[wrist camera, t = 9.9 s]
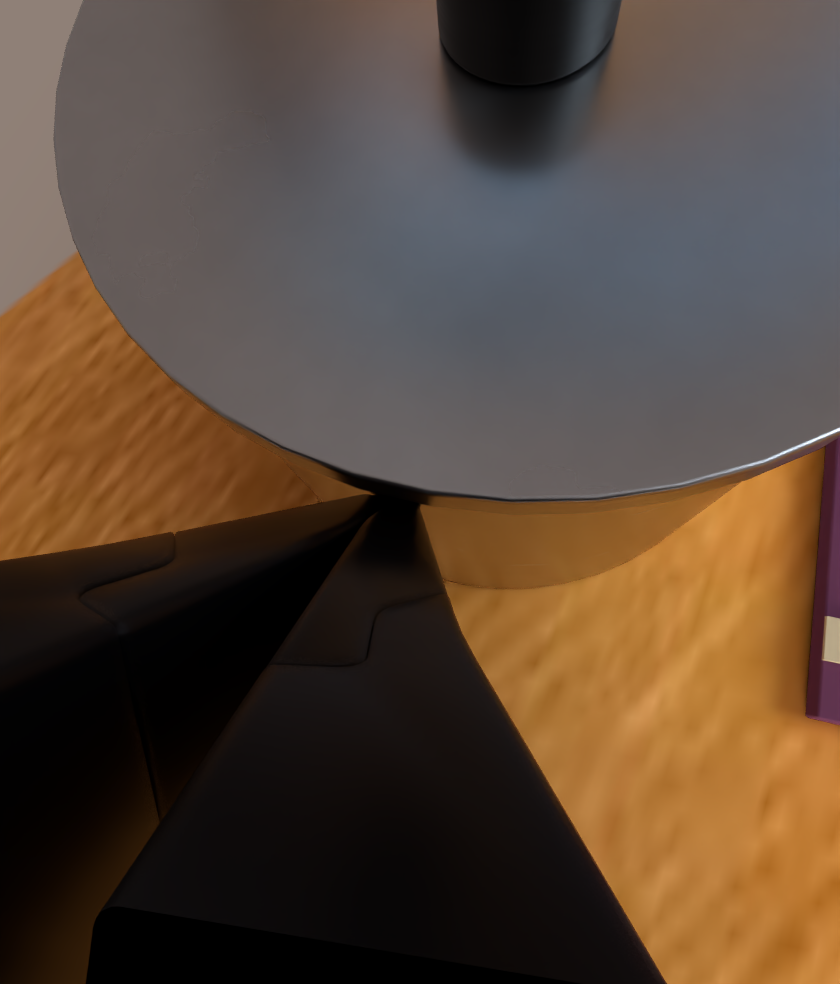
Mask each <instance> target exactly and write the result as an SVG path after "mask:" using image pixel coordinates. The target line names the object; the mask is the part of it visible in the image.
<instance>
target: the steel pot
mask: <svg viewBox="0 0 840 984" xmlns="http://www.w3.org/2000/svg"><path fill="white" fill-rule="evenodd" d="M54 125H55V126H54V148H55V158H56V167H57V177H58V187H59V191H60V195H61V198H62V202H63V205H64V209H65V213H66V216H67V220H68V223H69V227H70V231H71V234H72V238H73V241H74V243H75V245H76V247H77V249H78V251H79V254H80V256H81V258H82V260H83V262H84V264H85V266H86V268H87V271H88V273H89V275H90V277H91V279H92V281H93V283H94V286H95V288H96V289H97V291H98V292H99V294H100V295H101V297H102V298H103V299H104V301H105V302H106V304H107V305H108V307H109V308H110V310H111V311H112V312H113V314H114V315H115V317H116V318H117V320H118V321H119V323H120V324H121V325H122V327H123V328H124V330H125V331H126V333H127V334H128V335H129V336H130V337H131V339H132V340H133V341H134V342H135V343H136V344H137V345H138V346H139V347H140V348H141V349H142V350H143V351H144V352H145V353H146V354H147V355H148V356H149V357H150V358H151V359H152V360H153V361H154V362H155V363H156V364H157V366H158V367H159V368H160V369H161V370H162V371H163V372H164V373H165V374H166V375H167V376H168V377H169V378H170V379H171V380H172V381H173V382H174V383H175V384H177V385H178V386H179V387H180V388H181V389H182V390H183V391H184V392H185V393H186V394H187V395H189V396H190V397H191V398H193V399H194V400H195V401H197V402H198V403H199V404H200V405H202V406H203V407H204V408H206V409H207V410H208V411H210V412H211V413H212V414H214V415H215V416H216V417H218V418H219V419H220V420H221V421H223V422H224V423H225V424H227V425H228V426H229V427H231V428H232V429H233V430H235V431H236V432H237V433H239V434H241V435H243V436H245V437H247V438H248V439H250V440H252V441H254V442H256V443H257V444H259V445H261V446H263V447H265V448H266V449H268V450H270V451H272V452H274V453H275V454H277V455H278V456H279V457H280V458H281V459H282V460H283V461H284V462H285V463H286V464H287V465H288V466H289V467H290V468H291V469H292V470H293V471H294V472H295V473H296V475H297V476H298V477H299V478H300V479H301V480H302V481H303V482H304V483H305V484H306V485H307V486H308V487H309V488H310V489H311V490H312V491H313V492H314V493H315V494H316V495H317V496H318V497H319V498H320V499H321V500H322V501H323V502H327V501H332V500H337V499H342V498H346V497H351V496H356V495H361V494H371V495H376V496H380V497H384V498H387V499H389V500H390V501H392V500H397V501H402V502H406V503H411V504H415V505H418V506H419V507H420V510H421V513H422V517H423V520H424V523H425V526H426V529H427V532H428V535H429V539H430V542H431V545H432V548H433V551H434V554H435V557H436V561H437V564H438V567H439V570H440V573H441V576H442V579H444V580H448V581H452V582H456V583H460V584H464V585H472V586H480V587H488V588H496V589H518V588H538V587H545V586H552V585H559V584H566V583H569V582H573V581H576V580H580V579H584V578H587V577H591V576H595V575H598V574H600V573H603V572H605V571H607V570H610V569H612V568H614V567H617V566H619V565H621V564H624V563H626V562H628V561H630V560H632V559H633V558H635V557H637V556H638V555H640V554H642V553H643V552H645V551H647V550H648V549H650V548H652V547H653V546H655V545H657V544H658V543H659V542H661V541H662V540H664V539H665V538H666V537H668V536H669V535H670V534H672V533H673V532H674V531H676V530H677V529H678V528H680V527H681V526H682V525H684V524H685V523H686V522H688V521H689V520H690V519H692V518H693V517H695V516H696V515H697V514H699V513H700V512H701V511H703V510H704V509H705V508H707V507H708V506H709V505H711V504H712V503H713V502H715V501H716V500H717V499H719V498H720V497H721V496H723V495H724V494H726V493H727V492H728V491H730V490H731V489H732V488H734V487H735V486H736V485H738V484H739V483H740V482H742V481H745V480H748V479H750V478H753V477H755V476H757V475H760V474H762V473H764V472H767V471H769V470H772V469H774V468H776V467H779V466H781V465H783V464H786V463H788V462H790V461H793V460H795V459H797V458H800V457H802V456H804V455H807V454H809V453H811V452H814V451H816V450H819V449H820V448H822V447H824V446H825V445H827V444H829V443H830V442H832V441H834V440H835V439H837V438H839V437H840V0H83V2H82V4H81V7H80V10H79V13H78V15H77V18H76V21H75V23H74V27H73V29H72V31H71V34H70V37H69V39H68V42H67V45H66V49H65V54H64V58H63V63H62V68H61V72H60V77H59V81H58V86H57V91H56V107H55V124H54Z"/></svg>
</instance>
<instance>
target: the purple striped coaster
mask: <svg viewBox="0 0 840 984" xmlns="http://www.w3.org/2000/svg"><path fill="white" fill-rule="evenodd" d="M806 716H807V717H808V718H812V719H816V720H820V721H824V722H828V723H832V724H837V725H840V437H839V438H837V439H835V440H834V441H832V442H830V443H829V444H827V445H826V451H825V464H824V477H823V491H822V504H821V517H820V530H819V544H818V557H817V570H816V583H815V597H814V610H813V623H812V636H811V650H810V663H809V676H808V689H807V703H806Z"/></svg>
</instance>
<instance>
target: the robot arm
mask: <svg viewBox="0 0 840 984" xmlns="http://www.w3.org/2000/svg"><path fill="white" fill-rule="evenodd" d="M0 984H667V983H666V982H665V980H664V978H663V977H662V975H661V973H660V971H659V970H658V968H657V966H656V965H655V963H654V961H653V960H652V958H651V956H650V954H649V953H648V951H647V949H646V948H645V946H644V944H643V943H642V941H641V939H640V937H639V936H638V934H637V932H636V931H635V929H634V927H633V925H632V924H631V922H630V920H629V919H628V917H627V915H626V914H625V912H624V910H623V908H622V907H621V905H620V903H619V902H618V900H617V898H616V897H615V895H614V893H613V891H612V890H611V888H610V886H609V885H608V883H607V881H606V880H605V878H604V876H603V874H602V873H601V871H600V869H599V868H598V866H597V864H596V862H595V861H594V859H593V857H592V856H591V854H590V852H589V851H588V849H587V847H586V845H585V844H584V842H583V840H582V839H581V837H580V835H579V834H578V832H577V830H576V828H575V827H574V825H573V823H572V822H571V820H570V818H569V817H568V815H567V813H566V811H565V810H564V808H563V806H562V805H561V803H560V801H559V800H558V798H557V796H556V794H555V793H554V791H553V789H552V788H551V786H550V784H549V782H548V781H547V779H546V777H545V776H544V774H543V772H542V771H541V769H540V767H539V765H538V764H537V762H536V760H535V759H534V757H533V755H532V754H531V752H530V750H529V748H528V747H527V745H526V743H525V742H524V740H523V738H522V737H521V735H520V733H519V731H518V730H517V728H516V726H515V725H514V723H513V721H512V719H511V718H510V716H509V714H508V713H507V711H506V709H505V708H504V706H503V704H502V702H501V701H500V699H499V697H498V696H497V694H496V692H495V691H494V689H493V687H492V685H491V684H490V682H489V680H488V679H487V677H486V675H485V674H484V672H483V670H482V668H481V667H480V665H479V663H478V662H477V660H476V658H475V656H474V654H473V653H472V651H471V649H470V647H469V645H468V643H467V641H466V639H465V638H464V636H463V634H462V632H461V629H460V626H459V624H458V621H457V619H456V616H455V614H454V611H453V608H452V605H451V602H450V599H449V597H448V595H447V592H446V589H445V586H444V582H443V579H442V576H441V573H440V570H439V567H438V564H437V561H436V557H435V554H434V551H433V548H432V545H431V542H430V539H429V535H428V532H427V529H426V526H425V523H424V520H423V517H422V513H421V510H420V507H419V506H418V505H415V504H411V503H406V502H402V501H397V500H392V501H390V500H389V499H387V498H384V497H380V496H376V495H371V494H361V495H356V496H351V497H346V498H342V499H337V500H332V501H327V502H322V503H317V504H312V505H307V506H302V507H297V508H292V509H287V510H282V511H277V512H272V513H267V514H262V515H257V516H252V517H248V518H243V519H238V520H233V521H228V522H223V523H218V524H213V525H208V526H203V527H198V528H193V529H188V530H183V531H178V532H176V533H175V536H174V534H173V533H172V532H168V533H163V534H158V535H153V536H148V537H143V538H138V539H132V540H127V541H121V542H116V543H111V544H105V545H99V546H93V547H87V548H81V549H75V550H68V551H62V552H56V553H50V554H43V555H36V556H30V557H23V558H16V559H10V560H3V561H0Z"/></svg>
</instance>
